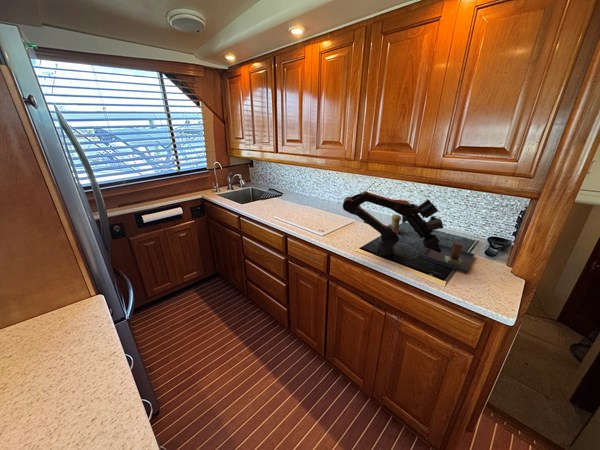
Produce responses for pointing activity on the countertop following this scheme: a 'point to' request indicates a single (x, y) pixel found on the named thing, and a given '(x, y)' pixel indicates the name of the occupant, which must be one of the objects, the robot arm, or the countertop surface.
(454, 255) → the brown green handled brush
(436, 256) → the tray
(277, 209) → the countertop surface
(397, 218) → the cork
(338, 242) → the countertop surface
